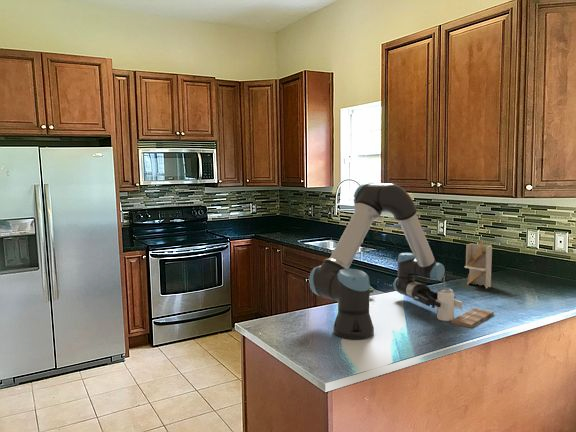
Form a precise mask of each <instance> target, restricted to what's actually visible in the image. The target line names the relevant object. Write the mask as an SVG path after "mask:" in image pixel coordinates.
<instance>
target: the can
mask: <svg viewBox="0 0 576 432" xmlns="http://www.w3.org/2000/svg"><path fill="white" fill-rule="evenodd" d="M437 293H438V295H437V300H439V301H442V302H445V303H447V304H448V311H446V310H443V309H441V308H439V307H436V318H437V320H439V321H441V322H451V320H453V319H455V317H454V316H455V306H454V296H455V293H454V290H453V289H451V288H438V292H437Z"/></svg>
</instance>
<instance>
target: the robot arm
mask: <svg viewBox="0 0 576 432" xmlns="http://www.w3.org/2000/svg"><path fill="white" fill-rule="evenodd" d="M353 197H354V199H353V204H354V205H353V207H354V212H353V214H352V216H351V217H350V219H349V221H348V223H347V226H346V227H345V229H344V231H343V233H342V235H341V236H340V239H339V241H338V242H337V244H336V245H335V248H334V249H333V251H332V252H331V255H330V257H329V258H325V259H324V260H323V262H322V264H321V265H318V266H315V267H313V269H311V271H310V274H309V278H308V283H309V287H310V290H311V292H312V293H313V294H314V295H316V296H318V297H320V298H325V299H328V300H331V301H335V302H337V314H336V318H335V320H334V324H333V325H332V327H333V329H332V330H333V334H334V335H335V336H337V337H338V338H342V339H346V340H364V339H365V340H366V339H368V338H371V337H373V336H374V335H375V334H374V333H375V327H374V324H373V321H372V318H371V317H372V316H371V314H370V294H371V293H370V286H371V284H370V277H369V275H368V274H367V273H366V272H364V271H363V270H360V269H356V268H350V267H351V265H352V262H353V261H354V259H355V257H356V254H357V253H358V251H359V249H360V247H361V245H362V243H363V241H364V239H365V237H366V236H367V234H368V232H369V230H370V228H371V226H372V225H373V223H374V221H376V220H378V219H380V217H381V215H382V213H383V212H385V213H386V212H387V213H390V214H391V215H393V217H394V220H396V221H398V223H399V225H400V227H401V229H402V231H403V234H404V236H405V239H406V241H407V243H408V245H409V248H410V250H411V252H401V253H399V254H398V258H397V277H396V278H395V279H394V281H393V283H392V286H393V288H394V290H395V292H397V293H399V294H400V295H404V296H406V297H408V298H410V299H412V300H414V301H416V302H420V303H421V304H423V305H425V306H427V307H430V306H431V308H433V309H435V307H436V308H437V307H439V308H441V309H443V310H446V311H448V304H447V303H445V302H442V301H439V300H437V295H438V292H437V291H433V290H431V289H430V287H429V286H428V285H425V284H422V283H420V282H417V281H415V278H416V277H418V278H419V277H420V278H424V279H427V280H432V281H440V280H442V279H443V277H444V275H445V272H446V271H445V270H446V269H445V266H444V264H442V263H440V262H437V261H436V259H435V256H434V255H433V251H432V249H431V247H430V245H429V244H430V243H429V242H428V240H427V237H426V234H425V232H424V230H423V228H422V225H421V223H420V220H419V218H418V215H417V213H418V208H417V206H416V204H415V202H414V200H413V199H412V197H411V196H410V195H409V193H408V192H407V191H406V190H405V189H404V188H402V186H400V185H398V184H395V183H377V182H376V183H375V182H369V183H363V184H361V185H359V186H358V187H357V188H356V190H355V192H354V194H353ZM455 307H456V308H457V309H461V310H462V309H463V301H461V300H458V299H456V296H455V295H454V308H455Z"/></svg>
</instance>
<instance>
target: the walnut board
mask: <svg viewBox="0 0 576 432" xmlns="http://www.w3.org/2000/svg"><path fill="white" fill-rule="evenodd" d="M492 316H494V311H491V310H487V309H486V310H485V309H481V308H477V307H474V308H472V309H470V310H468V311H466V312H464V313H462V314H460V315H458V316H457V317H454V319H453V320H451V321H450V323H451V324H453V325H458V326H462V327H467V328H470V329H472V328H473V327H475V326H477V325H478V324H480V323H483V322H484V321H486V320H487V319H488V318H490V317H492Z"/></svg>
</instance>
